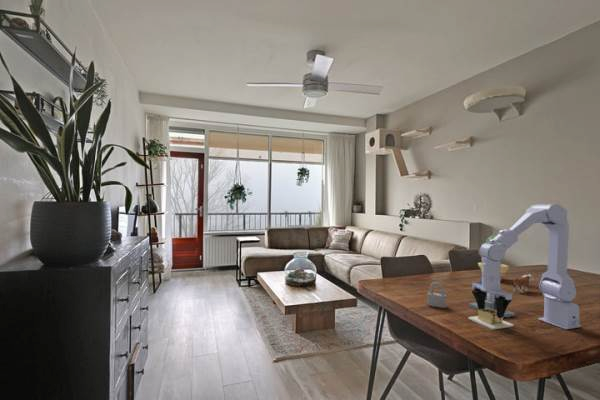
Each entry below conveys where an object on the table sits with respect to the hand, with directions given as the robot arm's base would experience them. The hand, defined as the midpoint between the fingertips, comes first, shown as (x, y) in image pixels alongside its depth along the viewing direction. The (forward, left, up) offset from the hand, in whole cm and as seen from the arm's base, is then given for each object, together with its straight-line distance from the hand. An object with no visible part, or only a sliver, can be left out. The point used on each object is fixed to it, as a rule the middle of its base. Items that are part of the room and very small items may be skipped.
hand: (490, 313), depth 111 cm
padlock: (+20, +6, -4) cm, 21 cm away
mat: (0, 0, -3) cm, 3 cm away
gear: (+21, -24, -4) cm, 32 cm away
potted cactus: (+49, -61, -3) cm, 78 cm away
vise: (+9, -13, -3) cm, 16 cm away
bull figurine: (+26, -53, -3) cm, 59 cm away
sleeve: (0, 0, -3) cm, 3 cm away
